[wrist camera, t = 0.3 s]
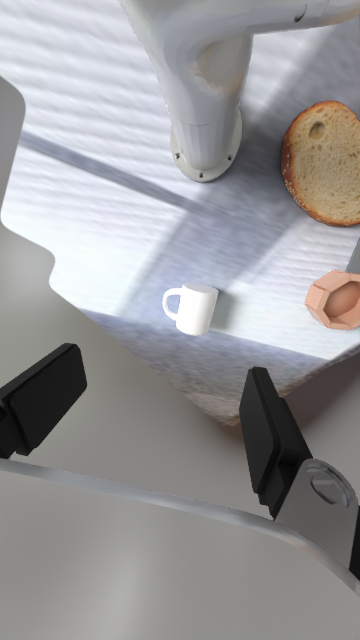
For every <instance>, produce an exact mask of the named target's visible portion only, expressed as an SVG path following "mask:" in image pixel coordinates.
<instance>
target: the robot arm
mask: <svg viewBox="0 0 360 640" xmlns="http://www.w3.org/2000/svg"><path fill="white" fill-rule="evenodd" d="M117 1H118V3H119V5H120V7H121V9H122V11H123V13H124V15H125V17H126V18H127V20H128V22H129V24H130V26H131V27H132V29H133V31H134V33H135V34H136V36H137V38H138V39H139V41H140V42H141V44H142V46H143V47H144V49H145V50H146V52H147V54H148V56H149V58H150V60H151V62H152V65H153V67H154V70H155V73H156V75H157V78H158V81H159V84H160V88H161V91H162V94H163V97H164V101H165V104H166V107H167V110H168V113H169V116H170V120H171V123H172V127H171V135H170V140H171V150H172V154H173V157H174V160H175V162H176V164H177V166H178V168H179V169H180V171H181V172H182V173H183V174H184V175H185V176H187V177H188V178H190V179H192V180H195V181H199V182H205V181H211V180H213V179H216V178H217V177H219V176H221V175H222V174H223V173H224V172H225V171H226V170H227V169H228V168H229V167H230V165H231V164H232V163H233V161H234V159H235V157H236V155H237V152H238V150H239V147H240V143H241V138H242V119H241V114H240V111H239V107H240V103H241V98H242V94H243V90H244V85H245V81H246V77H247V73H248V69H249V64H250V59H251V54H252V47H253V35H257V34H266V33H275V32H284V31H293V30H302V29H309V28H316V27H324V26H329V25H333V24H338V23H342V22H345V21H348V20H350V19H352V18H354V17H356V16H358V15H360V0H117ZM178 156H179V159H177V157H178ZM228 158H230V159H231V160H230V161H229V160H228ZM201 175H203V177H202V178H201V177H200V176H201ZM86 387H87V381H86V375H85V371H84V366H83V361H82V356H81V351H80V348H79V347H78V346H77V345H76V344H71V343H64V344H63V345H61V346H60V347H58V348H57V349H55V350H54V351H53V352H52V353H50V354H48V355H47V356H45V357H44V358H43V359H41V360H40V361H39V362H37V363H36V364H34V365H33V366H31V367H30V368H29V369H27V370H26V371H24V372H23V373H21V374H20V375H19V376H17V377H16V378H14V379H13V380H12V381H10V382H9V383H7V384H6V385H4V386H3V387H2V388H0V640H360V506H359V505H358V498H357V496H356V493H355V491H354V489H353V488H352V486H351V485H350V483H349V482H348V481H347V480H346V478H345V477H344V476H343V475H342V474H341V473H340V472H339V471H338V470H336V469H335V468H334V467H333V466H331V465H329V464H328V463H326V462H324V461H321V460H318V459H313V457H312V454H311V452H310V450H309V448H308V446H307V444H306V442H305V440H304V438H303V436H302V434H301V432H300V430H299V428H298V425H297V423H296V421H295V419H294V417H293V415H292V413H291V411H290V409H289V407H288V405H287V403H286V401H285V399H284V398H282V397H279V396H278V393H277V391H276V389H275V387H274V385H273V382H272V380H271V378H270V376H269V373H268V371H267V369H266V368H263V367H255V366H254V367H253V368H252V369H249V370H248V374H247V378H246V382H245V386H244V390H243V395H242V399H241V403H240V407H239V414H240V420H241V426H242V431H243V437H244V443H245V448H246V454H247V460H248V465H249V471H250V477H251V482H252V488H253V491H254V493H257V494H258V497H259V502H260V504H261V505H266V506H268V507H269V511H270V515H271V516H272V517H273V520H272V521H271V520H269V519H266V518H264V517H261V516H257V515H254V514H250V513H247V512H244V511H241V510H237V509H232V508H228V507H224V506H220V505H216V504H212V503H208V502H204V501H199V500H195V499H191V498H186V497H182V496H177V495H173V494H168V493H163V492H159V491H154V490H150V489H145V488H140V487H135V486H131V485H127V484H122V483H117V482H113V481H108V480H103V479H98V478H94V477H89V476H84V475H80V474H75V473H70V472H65V471H61V470H55V469H51V468H46V467H41V466H37V465H31V464H27V463H22V462H17V461H12V460H10V459H11V455H12V454H13V453H14V452H15V451H16V453H17V454H20V455H24V456H28V455H29V454H30V452H31V451H32V450H33V449H34V448H37V447H38V446H39V445H40V444H41V443H42V441H43V440H44V439H45V438H46V437H47V435H48V434H49V433H50V432H51V431H52V429H53V428H54V427H55V426H56V425H57V423H58V422H59V421H60V420H61V419H62V417H63V416H64V415H65V414H66V412H67V411H68V410H69V409H70V407H71V406H72V405H73V404H74V403H75V402H76V401H77V399H78V398H79V397H80V396H81V394H82V393H83V392H84V391H85V389H86Z"/></svg>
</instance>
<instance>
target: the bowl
mask: <svg viewBox="0 0 360 640" xmlns="http://www.w3.org/2000/svg"><path fill="white" fill-rule="evenodd" d="M305 303H306V304H305V306H306V307H307V309H308V310H309V312H310V313H311V315H312V316H313V318H314V319H316V320H317V321H319V322H320V323H321V324H323V325H324V326H325V327H327V328H333V329H342V330H349V329H351V330H352V329H354V328H356V327H358V326H360V273H358V272H347V271H338V270H335V271H331V272H330V273H328V274H326V275H325V276H323V277H322V278H320V279H318V280H317V281H315V282H314V283H313V285H311V286H310V289H309V292H308V295H307V297H306V300H305Z"/></svg>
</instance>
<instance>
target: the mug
mask: <svg viewBox="0 0 360 640" xmlns="http://www.w3.org/2000/svg"><path fill="white" fill-rule="evenodd" d="M218 293H219V292H218V290H217V289H215V288H213V287H210V286H207V285H203V284H198V283H185V284H184V285H183V288H172V289H169V290H168V291H167V292H166V293H165V295H164V297H163V308H164V310H165V312H166V314H167V315H168V316H169V317H170V318H172V319H174V320H176V321H177V322H176V326H177V328H178V329H179V330H181V331H182V332H184V333H187V334H190V335H198V336H199V335H205V334H206V333H208V331H209V327H210V323H211V320H212V316H213V312H214V308H215V304H216V301H217V297H218ZM171 295H181V299H180V305H179V311H178V314H175V313H173V312H171V311H170V310H169V309H168V306H167V300H168V297H169V296H171Z"/></svg>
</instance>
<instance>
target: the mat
mask: <svg viewBox="0 0 360 640" xmlns="http://www.w3.org/2000/svg"><path fill="white" fill-rule="evenodd" d="M346 271H347V272H358V273H360V238H359V241H358V243H357V245H356V248H355V250H354V252H353V255H352V257H351V259H350V262H349V264H348V266H347V269H346Z"/></svg>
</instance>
